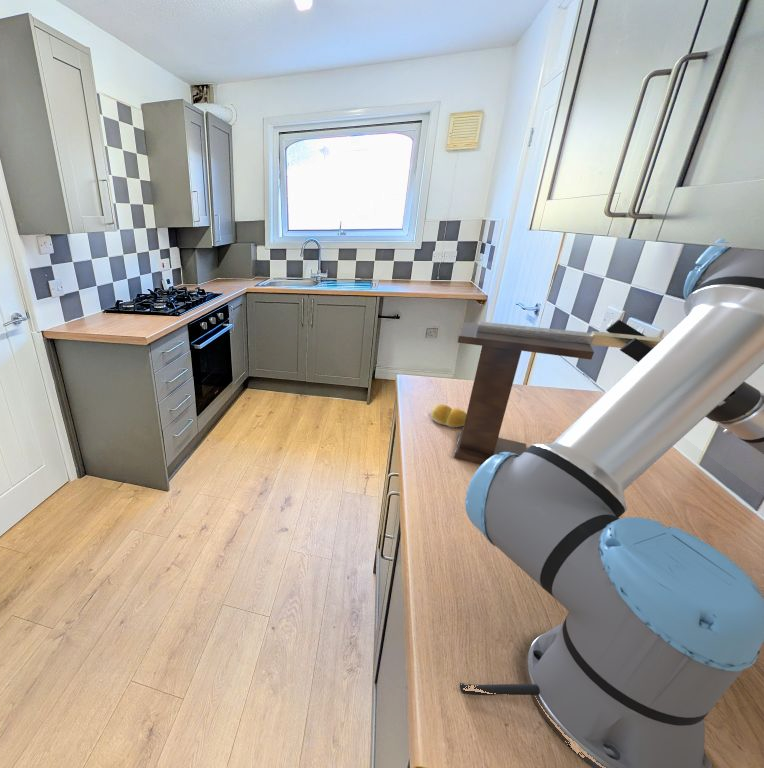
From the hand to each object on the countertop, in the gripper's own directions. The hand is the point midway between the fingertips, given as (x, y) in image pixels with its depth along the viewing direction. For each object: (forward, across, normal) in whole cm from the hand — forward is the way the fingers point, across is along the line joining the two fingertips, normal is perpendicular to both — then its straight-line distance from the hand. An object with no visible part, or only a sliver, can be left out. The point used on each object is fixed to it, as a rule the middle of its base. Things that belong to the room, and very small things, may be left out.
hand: (619, 333), depth 72 cm
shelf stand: (-3, 0, -34) cm, 35 cm away
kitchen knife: (+6, 0, -6) cm, 8 cm away
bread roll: (+6, +12, -40) cm, 42 cm away
